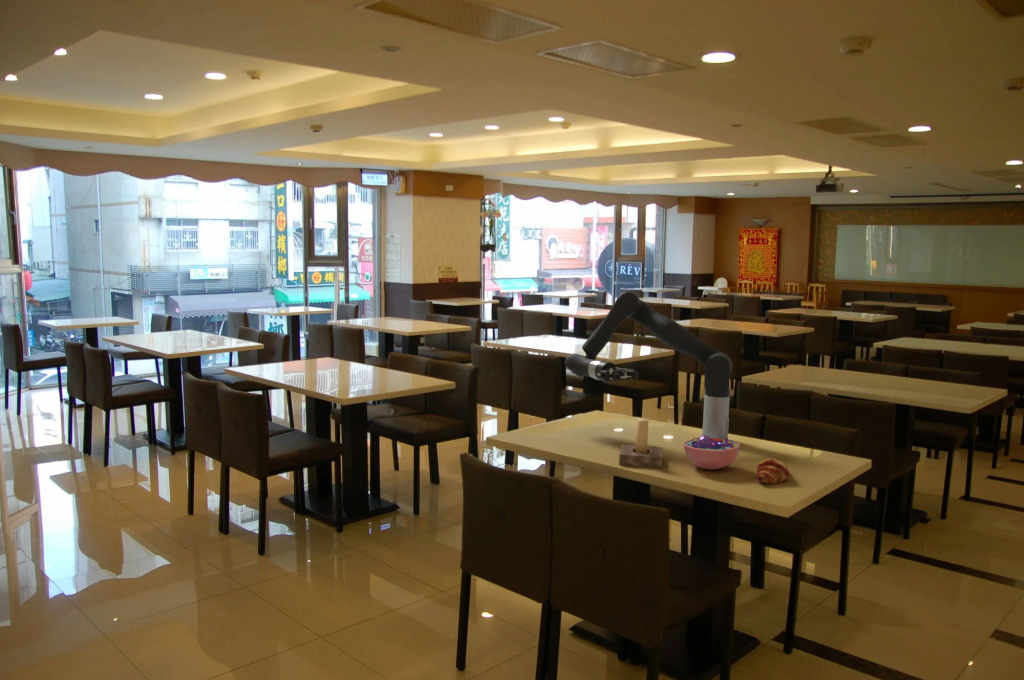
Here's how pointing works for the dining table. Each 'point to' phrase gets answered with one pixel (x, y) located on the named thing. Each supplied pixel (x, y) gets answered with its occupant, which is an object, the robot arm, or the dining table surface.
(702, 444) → the cell model
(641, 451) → the peg
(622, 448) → the hole block
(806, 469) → the dining table surface
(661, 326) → the robot arm
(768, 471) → the croissant
